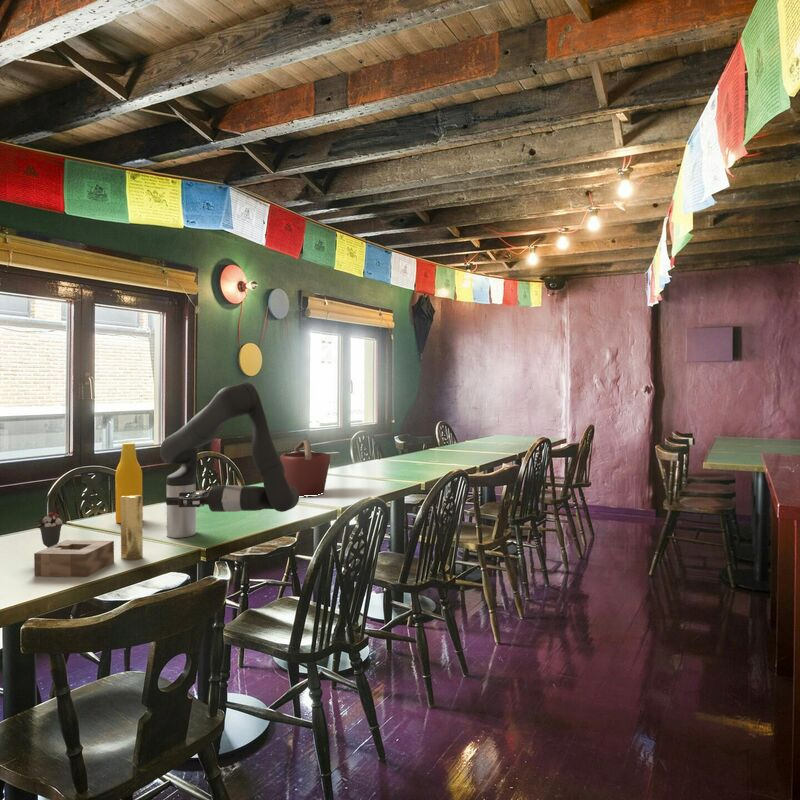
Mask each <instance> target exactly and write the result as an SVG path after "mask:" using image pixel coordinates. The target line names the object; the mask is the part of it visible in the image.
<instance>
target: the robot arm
mask: <svg viewBox="0 0 800 800" xmlns="http://www.w3.org/2000/svg"><path fill="white" fill-rule="evenodd" d="M246 415H247V416H248V418H249V420H250V422H251V426H252V439H251V440H252V441H251V457H252V460H253V462H254V465H255V467H256V469H257V473H259V476H260V477H261V478H260V479H262V482H263V483H262V484H263V486H258V485H237V484H236V485H234V484H233V485H232V484H231V485H230V484H228V485H226V484H225V485H222V484H221V485H220V484H219V485H218V484H217V485H216V484H215V485H212V486H211V487H210V488H209V490H200V489H199V490H196V482H197V481H196V480H197V474H198V473H197V472H198V453H199V452H198V448H199V447H202V446H205V445H207V444H210V442H212V441H213V440H214V439H216V438H217V437H218V436H219V435H220V434H221V433H222V431H223V428H224V424H225V422H228V421H229V420H232V419H235V418H239V417H242V416H246ZM159 455H160V458H161V461H162V462H164V463H165V464H167V465H180V468H178V469H177V470H176V471H175V472H173V473H170V474H169V475H167V477H166V484H165V485H166V487H165V488H166V498H165V503H166V536H167V537H168V538H173V539H177V538H179V539H181V538H189V537H193V536H195V535H196V534H197V508H200V507H201V508H202V507H205V506H208V508H209V510H210V512H212V513H213V512H214V513H215V512H216V513H218V512H219V513H221V512H222V513H223V512H226V513H229V512H230V513H231V512H232V513H233V512H257V511H261V510H275V511H277V512H280V513H284V512H287V511H289V510H292V509H293V508H295V507H296V506H297V505H298V503H299V501H300V498H299V494H298V492H297V490H296V489H295V488H293V487H292V486H288V483H287V481H286V478H285V476H284V474H285V469H284V467H283V464H282V462H281V460H280V456H279V454H278V452H277V448H276V447H275V445H274V442H273V439H272V436H271V432H270V429H269V425H268V421H267V417H266V414H265V411H264V407H263V404H262V400H261V397H260V395H259V392H258V391H257V389H256V387H255V385H253V384H252V383H250V382H247V381H246V382H241V383H236V384H233V385H228V386H225V387H223V388H221V389H220V390H218V392H217V393H216V394H215V395H214V397H213V398H212V399H211V400H210V402H209V403H208V404H207V405H206V406H205V407H203V409H201V410H200V411H199V412H198V413H196V414H195V415H194V416H193V417H192V418H191V419H190V420H189V421H188V422H187V423H185V424H184V425H183V426H182V427H181V428H179V429H178V430H177V431H175V432H174V433H172V434H170V435H169V436H167V437H166V438H165V439H163V441H162V443H161V445H160V448H159Z"/></svg>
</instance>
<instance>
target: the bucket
mask: <svg viewBox="0 0 800 800" xmlns="http://www.w3.org/2000/svg"><path fill="white" fill-rule="evenodd" d="M303 447H304V451H301V448H303ZM279 458H280V460H281V462H282V464H283V467H284V469H285V474H284V476H285V478H286V481H287V483H288V486H292V487H293V488H295V489H296V490H297V492H298V494H299V496H304V495H318V494H321V493H325V488H326V483H327V477H328V472H329V467H330V463H331V454H330V453H325V452H320V451H318V452H317V451H316V452H315V451H312V446H311V443H310V440H308V439H304V440H301V441H300V442H299V443H298V444H297V445H296V446H295V447H294V452H288V453H287V452H285V453H282V454H281V455H280V456H279Z"/></svg>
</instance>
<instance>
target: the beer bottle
mask: <svg viewBox="0 0 800 800" xmlns="http://www.w3.org/2000/svg"><path fill="white" fill-rule="evenodd" d="M114 475H115V477H114V478H115V484H114V485H115V522H116V524H118V523H121V496H132V495H141V496H142V497H143V470H142V468H141V465H140V463H139V462H138V459H137V451H136V444H135V443H134V442H126V443H122V445H121V454H120V460H119V463H118V465H117V466H116V471H115V474H114ZM143 507H144V506H143V502H142V520H143V519H144V518H143V517H144V512H143V511H144V509H143Z"/></svg>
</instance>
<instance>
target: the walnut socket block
mask: <svg viewBox="0 0 800 800" xmlns="http://www.w3.org/2000/svg"><path fill="white" fill-rule="evenodd" d="M33 558H34V559H33V561H34V565H33V566H34V569H33V570H34V577H63V576H64V577H66V576H68V578H69V577H70V578H71V577H72V578H74V577H76V578H86V576H87V577H88V576H90V575H92V574H94V573H95V572H97V570H98V571H100V570H101V569H103V568H105V567H107V566H108V565H110V563H111V564H112V562H113V563H114V562H115V541H114V540H93V539H92V540H89V539H88V540H86V539H84V540H83V539H80V540H79V539H78V540H77V539H72V540H71V539H70V540H69V539H67V540H63V541H61V542H58V543H57V544H56V545H53V546H51V547H47V548H43V549H42V550H39V551H36V552H34V555H33ZM99 569H100V570H99ZM66 578H67V577H66Z"/></svg>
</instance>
